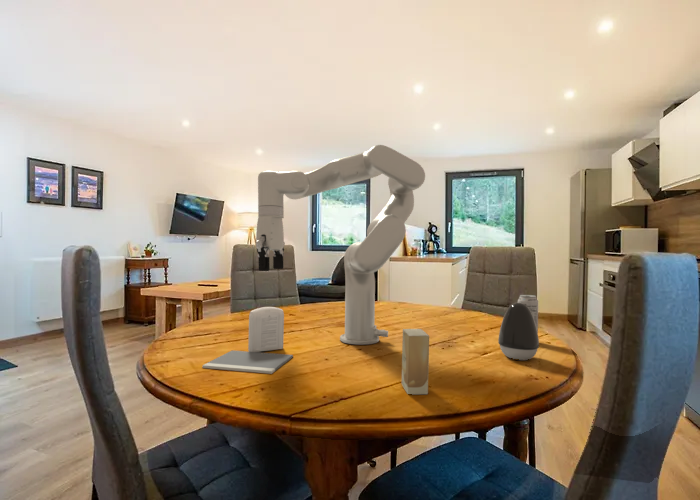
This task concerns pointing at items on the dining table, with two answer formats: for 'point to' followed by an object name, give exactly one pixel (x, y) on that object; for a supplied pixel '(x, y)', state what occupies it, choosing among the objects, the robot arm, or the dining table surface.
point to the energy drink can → (531, 306)
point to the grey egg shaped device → (518, 333)
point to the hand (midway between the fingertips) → (271, 269)
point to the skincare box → (415, 361)
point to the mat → (249, 361)
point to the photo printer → (266, 329)
